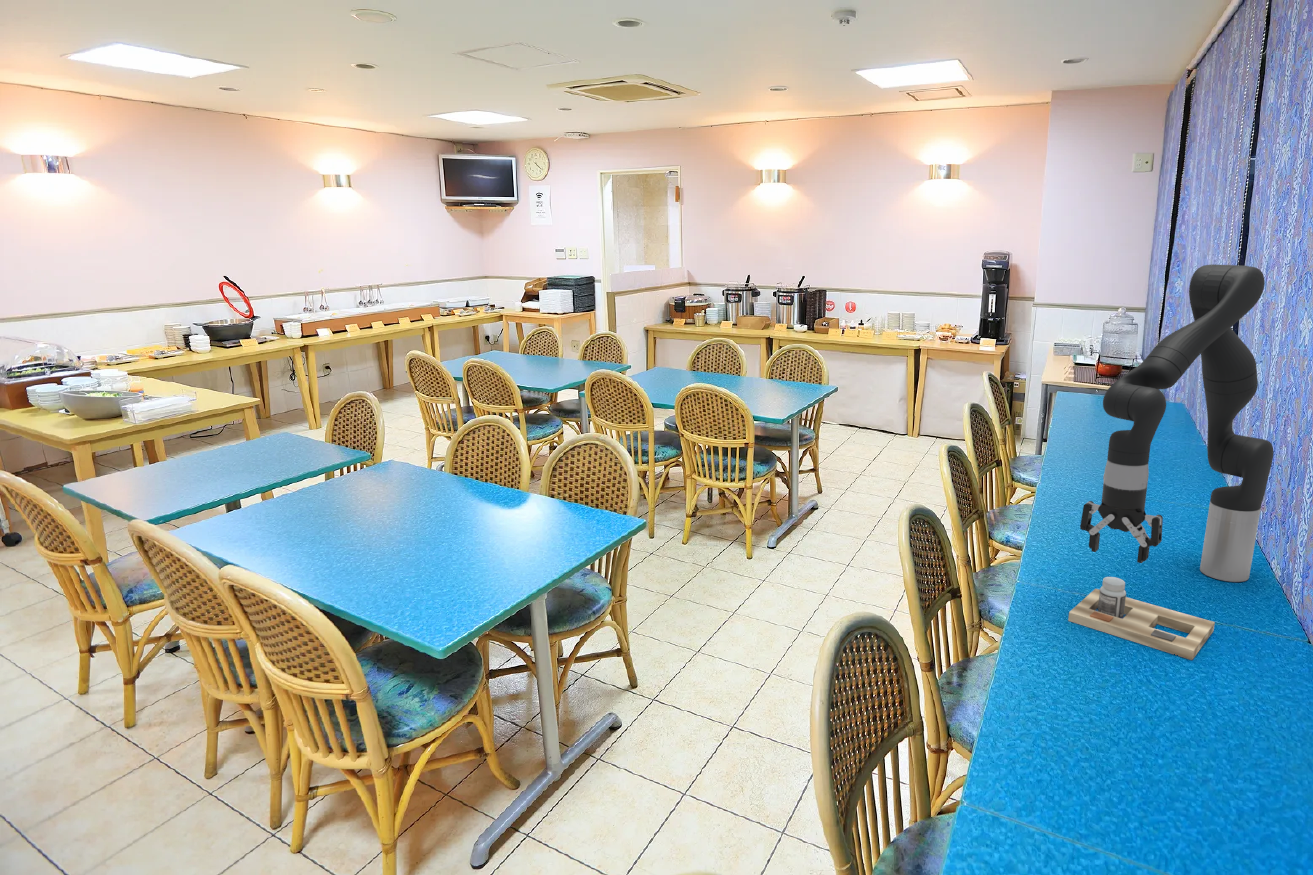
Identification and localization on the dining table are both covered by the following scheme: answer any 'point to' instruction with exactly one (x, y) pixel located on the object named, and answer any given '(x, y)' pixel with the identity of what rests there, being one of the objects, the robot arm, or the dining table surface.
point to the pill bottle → (1112, 597)
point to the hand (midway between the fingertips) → (1117, 556)
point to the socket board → (1146, 625)
